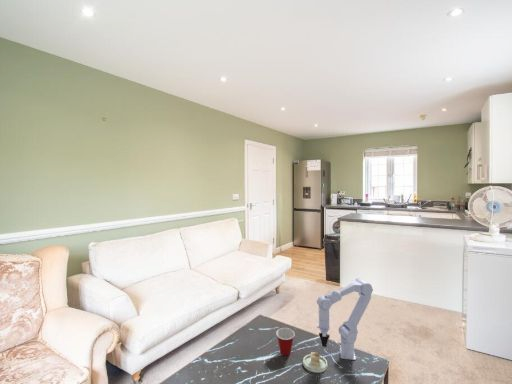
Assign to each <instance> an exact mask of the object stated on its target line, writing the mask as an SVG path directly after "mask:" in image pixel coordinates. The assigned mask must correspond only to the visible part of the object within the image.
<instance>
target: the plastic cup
mask: <svg viewBox="0 0 512 384" xmlns="http://www.w3.org/2000/svg"><path fill="white" fill-rule="evenodd" d="M275 335H276V337H277V340H278V346H279V351H280V354H281V355H282V356H290V355H291V353H292V347H293V341H294V337H295V336H296V334H295V331H294V330H293V329H291V328H289V327H281V328H278V329H277V330H276V332H275Z"/></svg>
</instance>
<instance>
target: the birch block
mask: <svg viewBox="0 0 512 384" xmlns="http://www.w3.org/2000/svg"><path fill="white" fill-rule="evenodd" d="M310 354H311V365H313V366H320V356H321V355H320V352H314V351H311V352H310Z"/></svg>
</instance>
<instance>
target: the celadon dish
mask: <svg viewBox="0 0 512 384" xmlns="http://www.w3.org/2000/svg"><path fill="white" fill-rule="evenodd" d="M302 359H303V361H302V365H303V368H305V369H306V370H307V371H309V372H311V373H315V374H316V373H317V374H319V373H323V372H325V371H327V369H328V360H327V359H326V358H325V357H324V356H322V355H320V366H313V365H311V353H310V354H306V355H305V356H304V357H303V358H302Z"/></svg>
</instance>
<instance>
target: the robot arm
mask: <svg viewBox="0 0 512 384" xmlns="http://www.w3.org/2000/svg"><path fill="white" fill-rule="evenodd" d="M373 291H374V289H373V286H372V285H371V284H370V283H368V282H367V281H365V280H363V279H362V278H360V277H357V278H356V279H353V280H351V283H349V284H348V285H346V286H344V287H343V288H341V289H339V290H337V289H335V290H334V289H333V290H331V292H330V293H327V294H325V295H320V296H318V299H317V300H316V303H317V305H318V324H316V328H317V329H319V330H320V332H318V336H319V338H320V341H321V342H320V343H321V345H322V346H321V347H323V348H326V347H327V346H328V341H329V339H330V337H331V336H330V334H328V332H329V331H330V329H331V328H330V327H331V326H330V309H331V307H332V306H333V305H334V304H336V303H337V302H339V301H341V300H342V297H345V296H346V295H349V294H351V293H355V292H356V293H358V296H359V298H358V299H357V300H356V301H357V302H356V303H355V305H354V308H353V309H352V312H351V314H350V315H349V317H348V319H347V320H346V321H343V322H342V324H341V325H340V326H339V328H338V333H339V335H340V347H339V353H340V359H344V360H350V361H351V360H352V361H356V359H357V358H356V354H355V342H356V341H357V338H358V337H357V336H358V333H359V332H358V325H359V323H360V321H361V319H362V318H363V317H362V316H363V315H364V313H365V311H366V309H367V307H368V305H369V303H370V301H371V299H372V293H373Z"/></svg>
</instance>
